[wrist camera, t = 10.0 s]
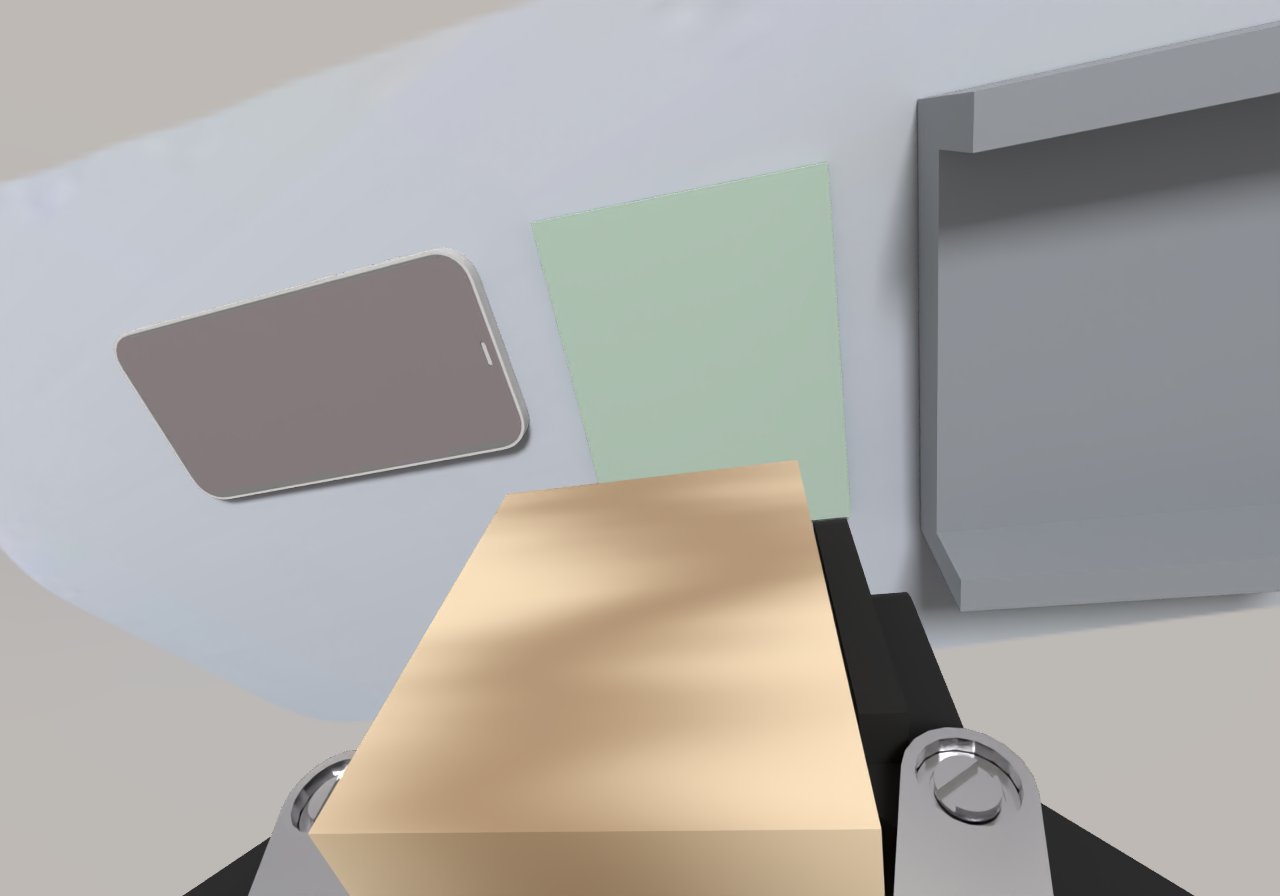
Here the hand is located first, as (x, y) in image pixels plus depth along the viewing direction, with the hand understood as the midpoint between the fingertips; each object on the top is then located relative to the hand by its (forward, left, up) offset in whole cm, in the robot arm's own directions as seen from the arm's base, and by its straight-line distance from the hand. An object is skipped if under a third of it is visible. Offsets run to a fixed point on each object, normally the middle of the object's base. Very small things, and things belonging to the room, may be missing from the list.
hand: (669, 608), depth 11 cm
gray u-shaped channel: (-13, 0, -12) cm, 18 cm away
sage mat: (0, 0, -12) cm, 12 cm away
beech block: (0, 0, 0) cm, 0 cm away
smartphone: (+14, -2, -12) cm, 19 cm away
